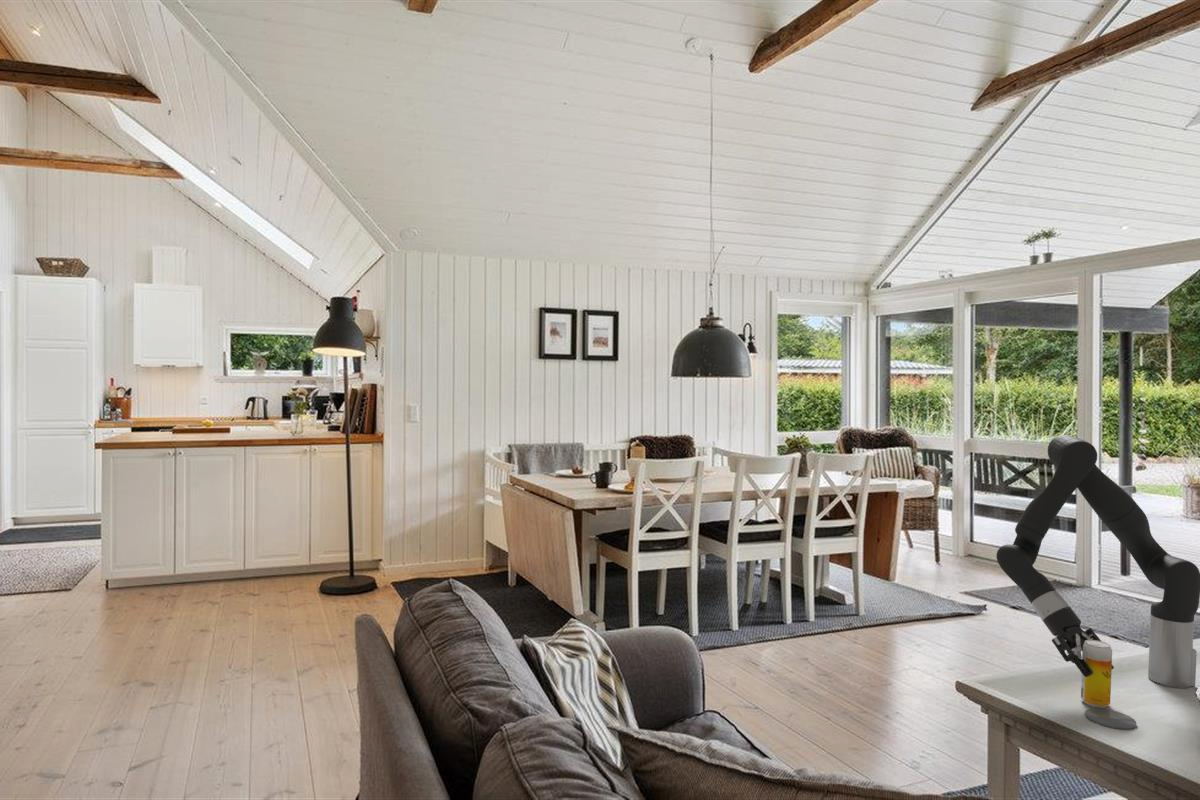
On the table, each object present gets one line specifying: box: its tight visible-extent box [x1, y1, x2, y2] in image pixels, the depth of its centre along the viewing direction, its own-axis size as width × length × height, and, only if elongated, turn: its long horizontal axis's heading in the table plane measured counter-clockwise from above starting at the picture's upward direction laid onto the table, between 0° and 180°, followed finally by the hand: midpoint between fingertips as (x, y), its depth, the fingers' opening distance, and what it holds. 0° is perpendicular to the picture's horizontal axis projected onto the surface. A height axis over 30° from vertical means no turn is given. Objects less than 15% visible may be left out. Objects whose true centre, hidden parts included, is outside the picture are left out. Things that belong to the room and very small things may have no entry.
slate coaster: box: [1084, 707, 1137, 731], centre depth 178 cm, size 10×10×1 cm
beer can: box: [1080, 640, 1113, 709], centre depth 187 cm, size 6×6×15 cm
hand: (1100, 672), depth 186 cm, fingers open, 8 cm apart
